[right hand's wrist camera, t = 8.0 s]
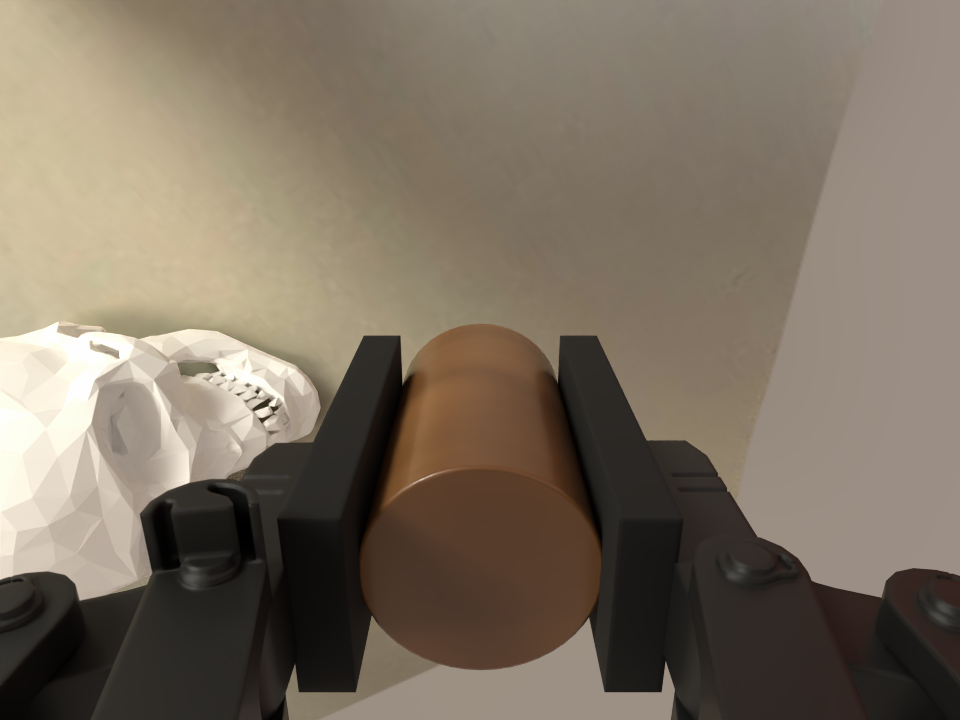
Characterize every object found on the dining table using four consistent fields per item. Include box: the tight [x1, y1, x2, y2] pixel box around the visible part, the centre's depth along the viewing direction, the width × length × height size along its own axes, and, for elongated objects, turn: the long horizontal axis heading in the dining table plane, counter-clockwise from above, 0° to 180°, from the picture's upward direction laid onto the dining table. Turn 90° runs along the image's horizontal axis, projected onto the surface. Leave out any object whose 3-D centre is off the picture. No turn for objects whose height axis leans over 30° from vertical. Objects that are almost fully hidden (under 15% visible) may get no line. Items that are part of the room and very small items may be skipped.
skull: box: [0, 321, 321, 600], centre depth 36 cm, size 13×22×16 cm, turn 99°
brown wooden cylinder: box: [359, 324, 602, 670], centre depth 12 cm, size 3×3×6 cm
